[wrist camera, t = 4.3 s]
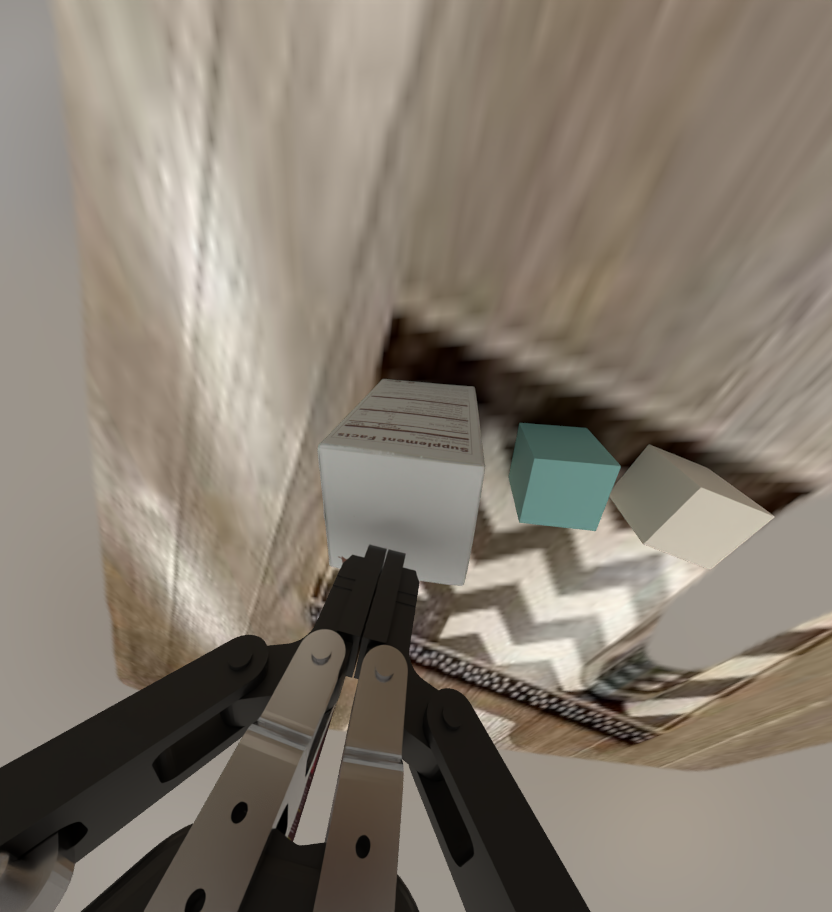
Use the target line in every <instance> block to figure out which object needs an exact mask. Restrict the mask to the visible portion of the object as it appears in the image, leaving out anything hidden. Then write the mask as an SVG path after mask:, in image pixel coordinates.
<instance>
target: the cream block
mask: <svg viewBox="0 0 832 912" xmlns="http://www.w3.org/2000/svg"><path fill="white" fill-rule="evenodd" d="M609 497H610V498H611V499H612V501H613V502H614V504H615V505H616V506H617V508H618V509H619V511H620V512H621V514H622V515H623V516H624V518H625V519H626V521H627V522H628V523H629V525H630V526H631V528H632V529H633V530H634V532H635V533H636V535H637V536H638V537H639V539H640V540H641V542H642V543H643V544H644V545H646V546H649V547H651V548H654V549H657V550H659V551H662V552H664V553H667V554H670V555H672V556H675V557H677V558H680V559H683V560H685V561H688V562H690V563H693V564H695V565H698V566H701V567H703V568H706V569H708V570H710V569H712V568H713V567H714V566H715V565H717V564H718V563H719V562H720V561H721V560H723V559H724V558H725V557H726V556H728V555H729V554H730V553H731V552H733V551H734V550H735V549H736V548H737V547H739V546H740V545H741V544H742V543H744V542H745V541H746V540H747V539H748V538H750V537H751V536H752V535H753V534H755V533H756V532H757V531H758V530H759V529H761V528H762V527H763V526H764V525H766V524H767V523H768V522H769V521H771V520H772V519H773V518H774V517H775V516H773V515H772V514H770V513H769V512H768V511H766V510H765V509H764V508H762V507H761V506H759V505H758V504H757V503H755V502H754V501H752V500H751V499H750V498H748V497H747V496H746V495H744V494H743V493H741V492H740V491H739V490H737V489H736V488H735V487H733V486H732V485H730V484H729V483H728V482H726V481H725V480H723V479H722V478H721V477H719V476H718V475H717V474H715V473H714V472H712V471H711V470H710V469H708V468H706V467H704V466H702V465H699V464H697V463H694V462H692V461H689V460H687V459H684V458H682V457H679V456H677V455H674V454H672V453H669V452H667V451H664V450H662V449H659V448H657V447H654V446H652V445H648V446H647V447H646V448H645V450H644V451H643V452H642V453H641V454H640V456H639V457H638V458H637V459H636V460H635V462H634V463H633V464H632V465H631V466H630V468H629V469H628V470H627V471H626V472H625V474H624V475H623V476H622V477H621V478H620V480H619V481H618V482H617V483H616V484H615V486H614V487H613V488H612V491H611V493H610V496H609Z"/></svg>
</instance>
